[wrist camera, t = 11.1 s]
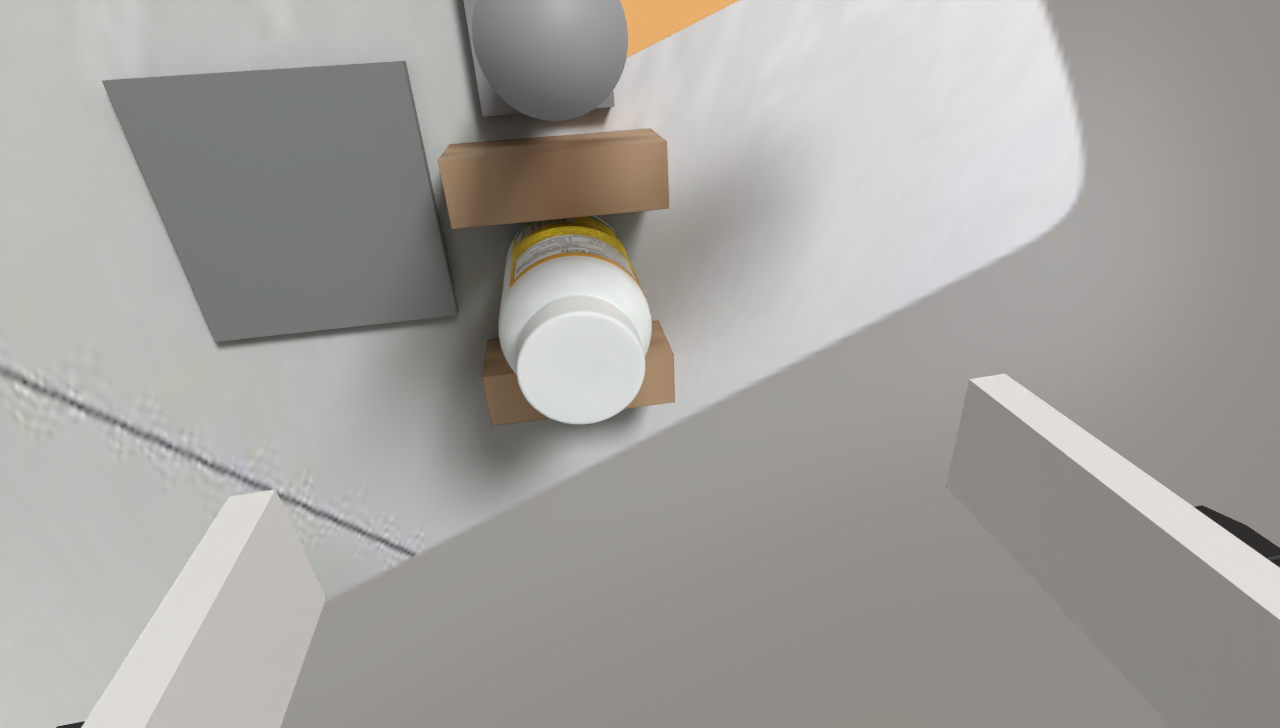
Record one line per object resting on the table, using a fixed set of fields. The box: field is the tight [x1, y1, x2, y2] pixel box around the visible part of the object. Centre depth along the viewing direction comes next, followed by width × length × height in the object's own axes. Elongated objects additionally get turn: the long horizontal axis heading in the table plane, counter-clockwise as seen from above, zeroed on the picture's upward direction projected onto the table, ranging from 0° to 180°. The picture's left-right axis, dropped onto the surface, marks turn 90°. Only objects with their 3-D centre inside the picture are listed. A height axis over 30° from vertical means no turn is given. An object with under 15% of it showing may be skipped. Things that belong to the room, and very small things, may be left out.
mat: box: [102, 61, 459, 342], centre depth 24 cm, size 10×10×1 cm
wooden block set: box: [438, 0, 675, 426], centre depth 24 cm, size 8×17×4 cm, turn 3°
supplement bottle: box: [498, 216, 652, 424], centre depth 23 cm, size 5×5×10 cm
